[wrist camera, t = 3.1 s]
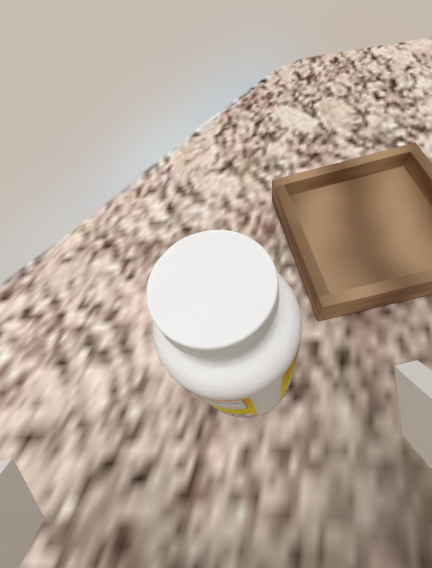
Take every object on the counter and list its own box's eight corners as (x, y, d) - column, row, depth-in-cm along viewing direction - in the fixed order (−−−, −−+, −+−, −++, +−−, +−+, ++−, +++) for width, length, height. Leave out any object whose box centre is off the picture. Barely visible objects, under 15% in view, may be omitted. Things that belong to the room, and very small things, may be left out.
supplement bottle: (262, 308, 24) (251, 182, 13) (311, 388, 21) (356, 316, 9) (182, 348, 23) (99, 255, 12) (220, 437, 20) (155, 422, 9)
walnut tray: (404, 166, 28) (415, 142, 26) (486, 281, 22) (509, 262, 20) (272, 200, 28) (272, 180, 26) (317, 321, 23) (322, 307, 20)
